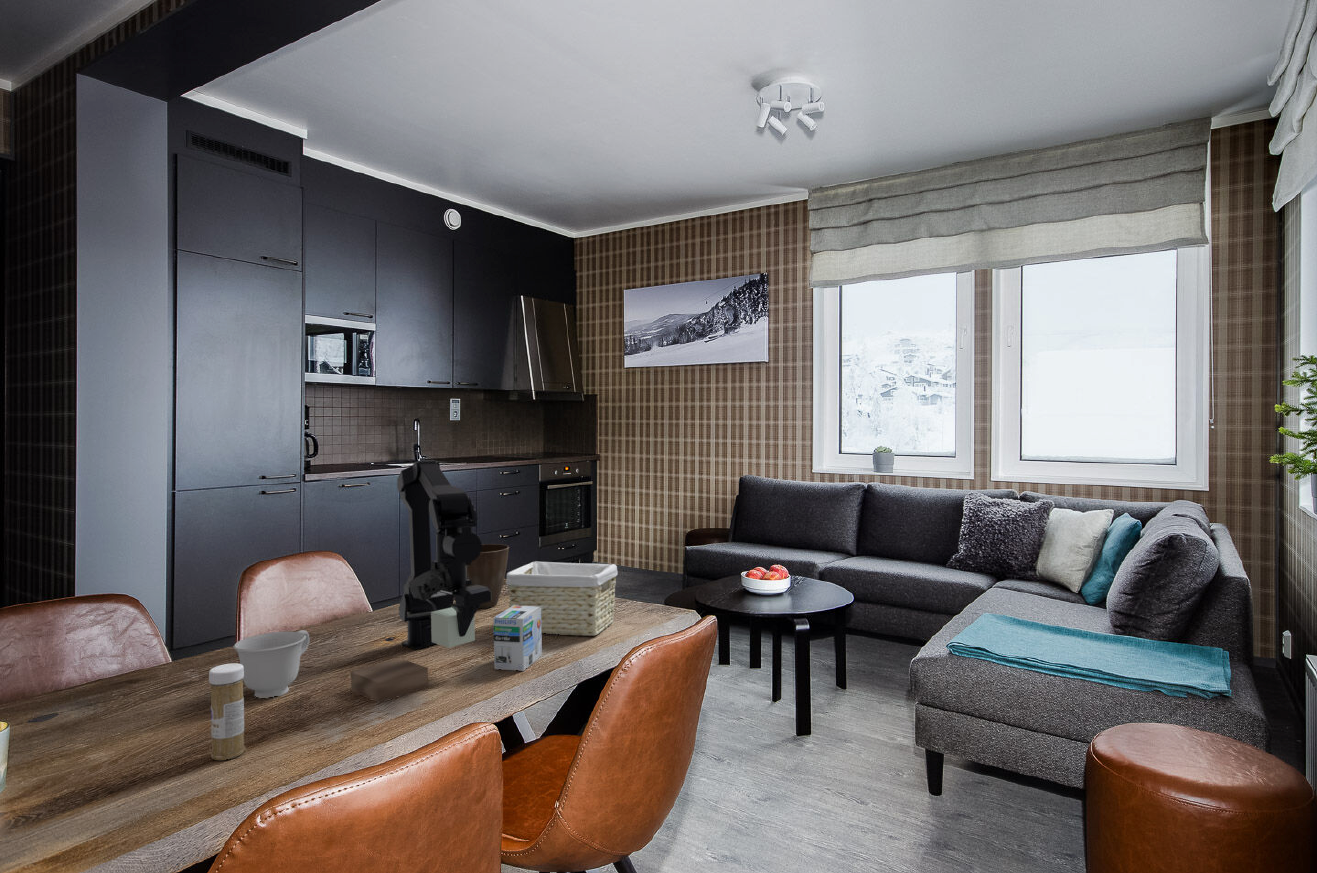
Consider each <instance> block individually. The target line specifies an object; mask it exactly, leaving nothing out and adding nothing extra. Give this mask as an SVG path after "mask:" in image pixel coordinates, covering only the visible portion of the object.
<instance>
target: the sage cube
mask: <svg viewBox="0 0 1317 873" xmlns="http://www.w3.org/2000/svg"><path fill="white" fill-rule="evenodd" d="M475 624H476V623H475V616H474V617H473V619H472V621H471V624H470V626H469V628H468V630H467V632H466V635H465V636H462V637H460V636H459V631H458V623H457V614H456V611H455V610H454V609H453V608H452V607H451V608H447V609H442V610H438V611H433V612H431V634H432V642H433V643H436V644H435V645H438V646H442V647H445V648H448V649H450V648H452V647H457V646H460V645H464V644H467V643H471V642H474V641H476V635H475V634H476V629H475V628H476V626H475Z"/></svg>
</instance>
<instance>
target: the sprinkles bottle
mask: <svg viewBox="0 0 1317 873" xmlns="http://www.w3.org/2000/svg"><path fill="white" fill-rule="evenodd" d="M243 677H244V667H243V665H242V664H240V663H237V662H236V663H231V662H230V663H226V664H224V663H223V664H221V665H217V666H214V667H212V668H210V670H209V672H208V683H209V685H210V719H211V720H210V733H211V735H210V736H211V754H210V756H211V757H210V758H211V759H212V760H214V761H226V759H228V760H230V759H234V758H237V757H239V756H241V755H242V754H244V753H245V751H246V746H245V733H244V732H245V699H244V688H243V687H244V680H243Z"/></svg>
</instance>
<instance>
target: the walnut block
mask: <svg viewBox="0 0 1317 873" xmlns="http://www.w3.org/2000/svg"><path fill="white" fill-rule="evenodd" d="M425 687H426V688H428V687H429V668H428V667H426V666H423V665H421V664H418V663H415V662H412V661H409V660H406V659H403V658H400V657H396V658H394V659H390V660H386V661H383V662H380V663H377V664H373V665H369V666H365V667H362V668H358V669H355V670H351V671H350V690H351V692H353V693H356V694H357V695H360V696H363V697H364V696H366V697H365V698H367V697H368V698H367V699H369V698H370V699H369V700H371V699H372V701H374V700H375V701H374V702H376V701H377V702H376V703H379V704H381V703H383V701H384V702H387V701H389V700H388V699H390V700H392V698H393V699H395V697H396V698H398V697H397V696H399V697H401V696H405V695H408V694H411V693H414V692H417V691H419V689H420V690H422V689H425ZM416 690H417V691H416ZM413 691H414V692H413ZM386 700H387V701H386ZM380 702H381V703H380Z"/></svg>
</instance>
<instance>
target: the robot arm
mask: <svg viewBox="0 0 1317 873" xmlns="http://www.w3.org/2000/svg"><path fill="white" fill-rule="evenodd" d="M396 479H397V480H396V484H397V486H396V487H397V490H398V492H399V494H400V495H399V496H400V501H402V503H403V505H404V506H405V507H406V509H407V510H408V529H409V531H408V534H409V555H410V556H409V557H410V559H409V560H410V574H409V576H408V578H407V580H406V582H405V583H404V585H403V594H402V596H401V599H400V602H399V607H398V614H399V616H398V617H399V618H400V620H401V621H403V623H405V622H406V623H407V625H406V626H407V640H405V641H401V645H403V646H405V647H408V648H410V649H414V650H419V649H422V648H427V647H430V646H434V645H437V644H436V643H433V642H432V634H431V612H433V611H438V610H442V609H447V608H451V607H452V608H453V609H454V610H455V611H456V614H457V623H458V631H459V636H460V637H462V636H465V635H466V632H467V630H468V628H469V626H470V624H471V621H472V619H473V617H474V618H475V615H476V613H477V612H478V608H479V606H480V604H483V603H485V602H489V601H491V600H492V591H491V590H490V589H489V588H488V587H485V586H481V585H474V586H469V585H471V580H469V579H467V565H471V562H472V561H474V560H475V559H477V558H478V556H479V555H480V553H481V550H482V544H483V543H482V541H481V539H480V537H479V536H478V535H477V534H475V533H473V532H472V528H475V527H478V523H477V521H478V518H479V517H478V516H477V512H476V509H475V507H474V503H473V502H472V499H471V497H470V496H469V495H468V494H467V493H466V490H465V491H464V489H462V488H460V487H456V486H454V485H452V484H451V483H450V481H449V479H448V478H447V477H446V475H445V473H444V471H442V469H441V467H440V463H439V461H438V460H435V459H428V460H417V461H414V462H413V463H412V465H411V466H409V467H406V468H404V469H401V471H400V473H399V475H398V476H397V478H396ZM431 521H432V524H433V527H434V529H435V531H436V532H435V542H436V544H435V547H436V550H435V551H436V554H435V555H436V560H433V561H432V546H431V545H432V543H431V542H432V541H431V540H432V539H431ZM466 586H469V587H466ZM454 602H455V603H454Z"/></svg>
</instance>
